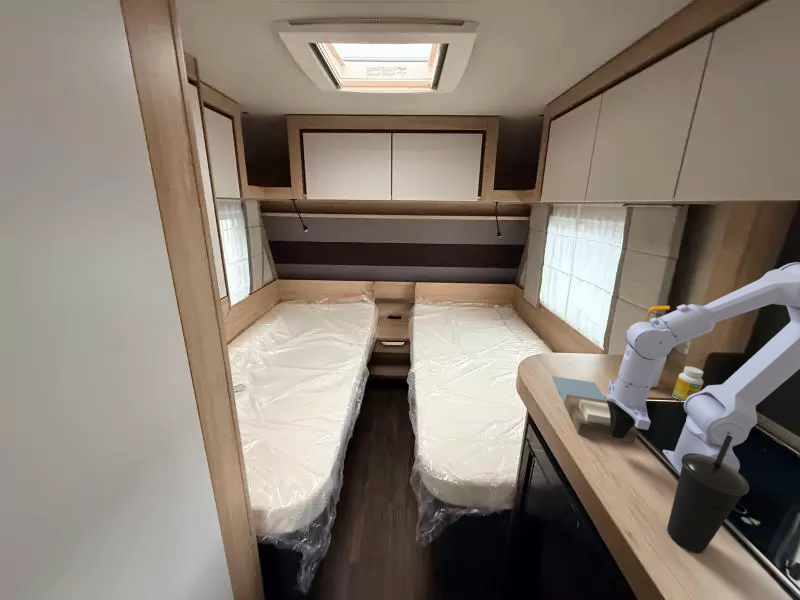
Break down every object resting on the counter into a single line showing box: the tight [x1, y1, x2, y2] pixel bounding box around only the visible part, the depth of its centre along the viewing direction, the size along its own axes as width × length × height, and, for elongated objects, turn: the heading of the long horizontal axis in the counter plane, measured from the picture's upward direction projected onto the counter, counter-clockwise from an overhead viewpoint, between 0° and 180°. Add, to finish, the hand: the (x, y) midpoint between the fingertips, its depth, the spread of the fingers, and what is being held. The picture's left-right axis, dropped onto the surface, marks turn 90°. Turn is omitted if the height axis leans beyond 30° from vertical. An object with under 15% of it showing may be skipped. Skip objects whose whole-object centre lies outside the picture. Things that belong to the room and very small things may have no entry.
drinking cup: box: [666, 435, 750, 554], centre depth 52 cm, size 8×8×20 cm
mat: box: [551, 375, 608, 404], centre depth 95 cm, size 14×12×1 cm
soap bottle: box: [644, 305, 671, 389], centre depth 101 cm, size 9×9×25 cm
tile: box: [579, 400, 610, 425], centre depth 80 cm, size 6×9×2 cm, turn 79°
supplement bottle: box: [671, 365, 704, 401], centre depth 94 cm, size 5×5×10 cm
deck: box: [564, 395, 639, 445], centre depth 82 cm, size 12×12×3 cm
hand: (616, 435), depth 73 cm, fingers closed
